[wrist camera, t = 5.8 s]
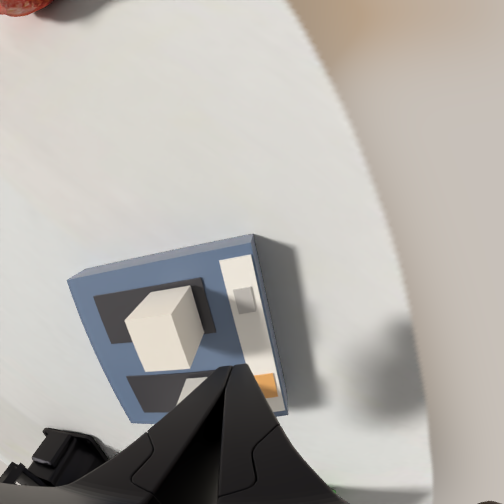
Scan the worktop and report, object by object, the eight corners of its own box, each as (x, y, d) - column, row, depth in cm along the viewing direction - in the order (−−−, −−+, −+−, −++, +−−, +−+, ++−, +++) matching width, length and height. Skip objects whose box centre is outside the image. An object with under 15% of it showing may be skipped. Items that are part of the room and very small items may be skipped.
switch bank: (286, 393, 18) (288, 417, 16) (141, 404, 19) (130, 424, 17) (253, 233, 15) (250, 243, 13) (85, 268, 16) (64, 281, 14)
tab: (204, 332, 14) (190, 368, 11) (165, 337, 14) (145, 371, 12) (190, 285, 14) (171, 314, 11) (150, 292, 14) (124, 320, 11)
